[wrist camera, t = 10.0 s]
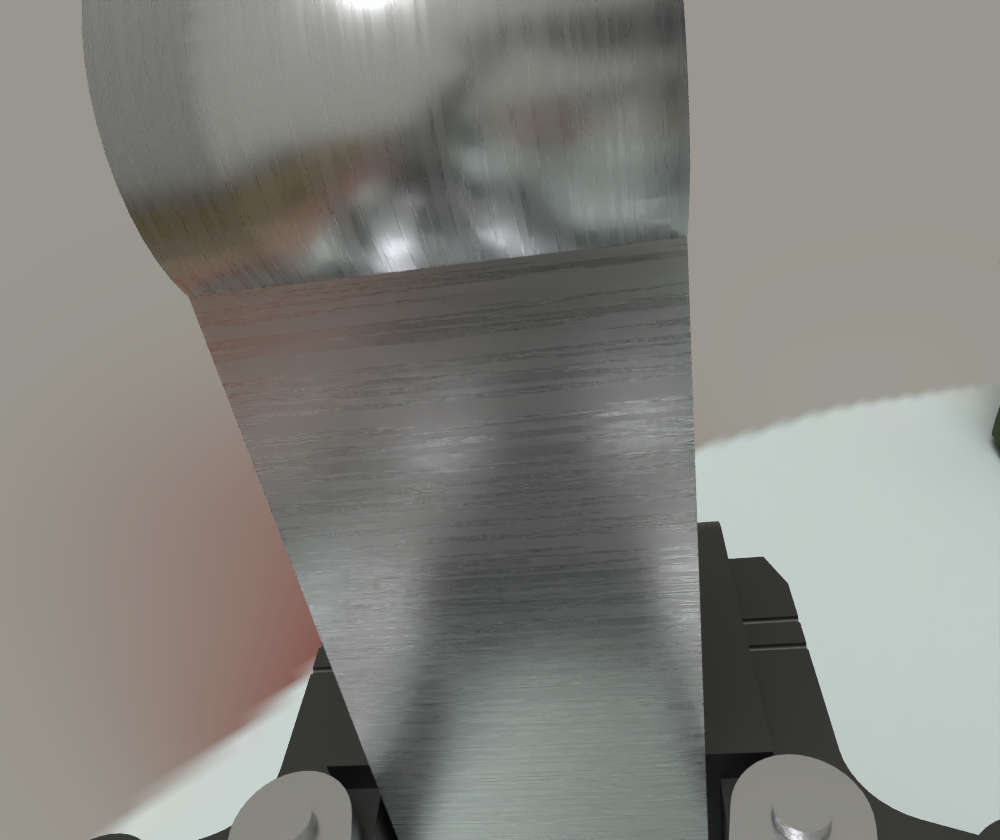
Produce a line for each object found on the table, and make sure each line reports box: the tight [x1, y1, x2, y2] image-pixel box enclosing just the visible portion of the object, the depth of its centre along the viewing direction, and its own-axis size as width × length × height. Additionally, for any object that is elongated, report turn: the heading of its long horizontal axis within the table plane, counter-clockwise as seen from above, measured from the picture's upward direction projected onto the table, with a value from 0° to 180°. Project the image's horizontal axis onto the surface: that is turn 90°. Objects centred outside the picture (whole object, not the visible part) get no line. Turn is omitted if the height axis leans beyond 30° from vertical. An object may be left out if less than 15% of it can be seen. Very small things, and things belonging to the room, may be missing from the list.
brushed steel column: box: [82, 0, 708, 840], centre depth 10 cm, size 5×5×20 cm
